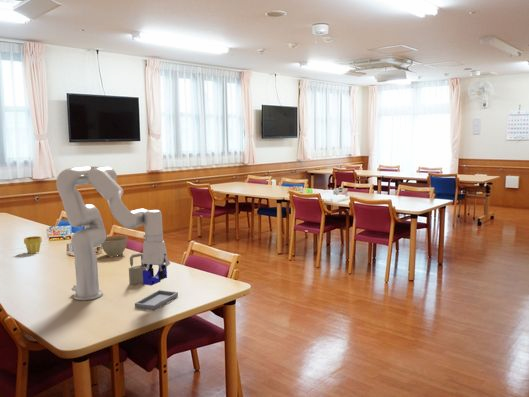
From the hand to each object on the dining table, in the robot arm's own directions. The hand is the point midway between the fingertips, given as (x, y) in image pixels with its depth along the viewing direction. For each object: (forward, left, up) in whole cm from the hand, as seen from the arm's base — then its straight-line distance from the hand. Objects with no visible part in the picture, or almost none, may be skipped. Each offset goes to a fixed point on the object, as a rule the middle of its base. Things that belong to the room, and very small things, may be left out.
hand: (156, 278), depth 199 cm
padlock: (-25, +20, -11) cm, 34 cm away
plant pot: (-130, +51, -11) cm, 140 cm away
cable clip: (0, 0, -2) cm, 2 cm away
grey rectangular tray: (0, 0, -11) cm, 11 cm away
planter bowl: (-74, +62, -11) cm, 97 cm away
